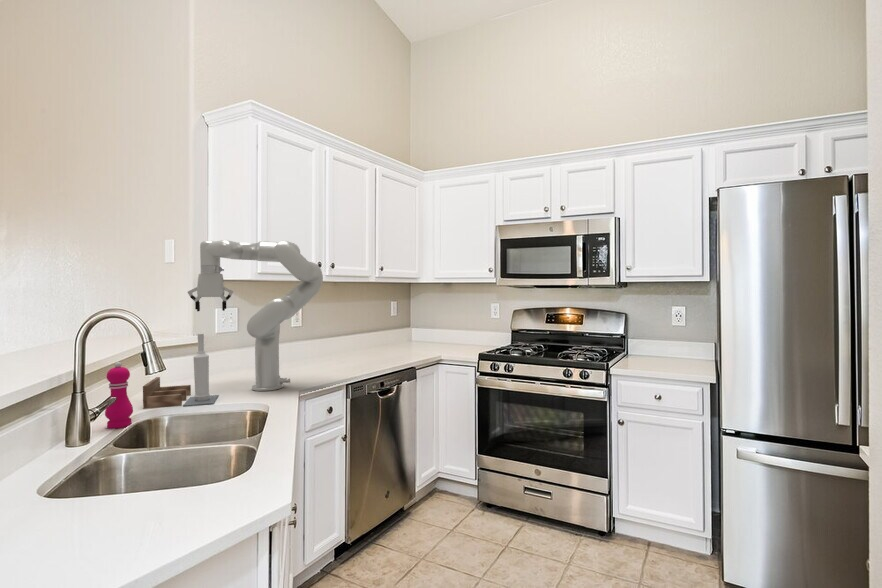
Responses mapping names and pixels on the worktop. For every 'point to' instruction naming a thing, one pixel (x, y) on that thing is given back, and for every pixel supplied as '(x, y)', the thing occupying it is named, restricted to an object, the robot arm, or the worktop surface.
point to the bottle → (201, 372)
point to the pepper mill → (119, 398)
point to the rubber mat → (192, 401)
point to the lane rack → (164, 394)
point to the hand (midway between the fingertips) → (211, 310)
